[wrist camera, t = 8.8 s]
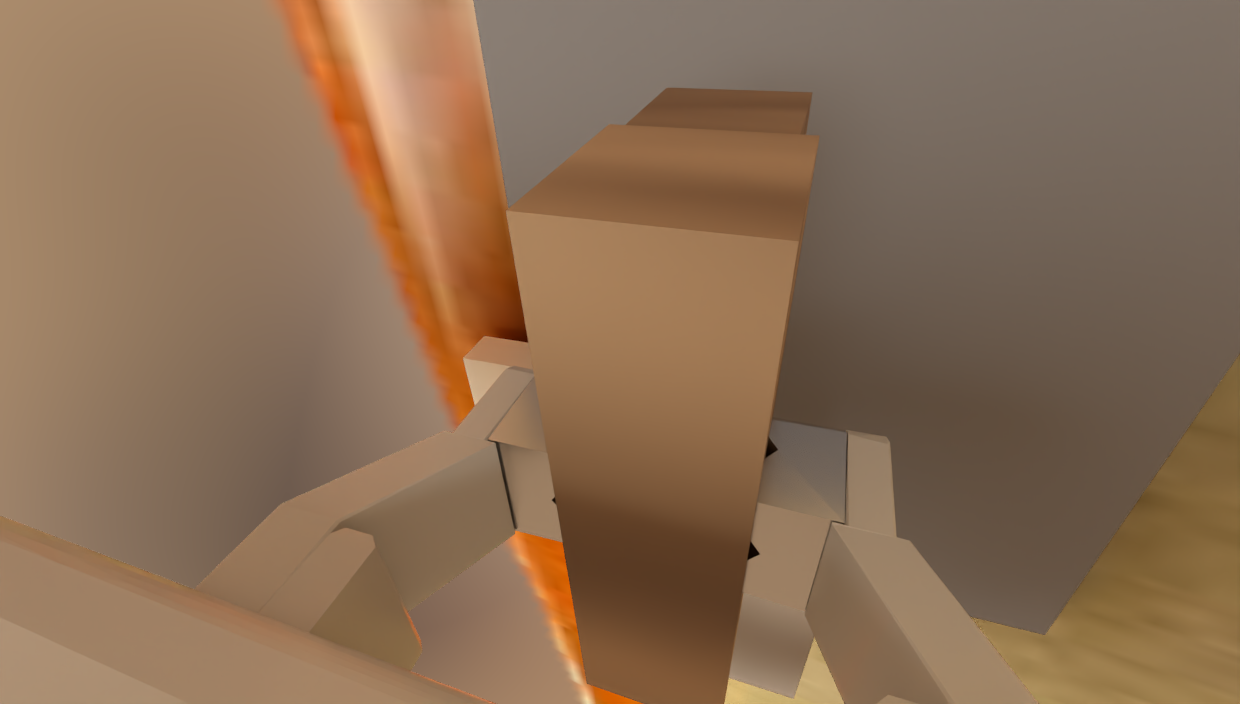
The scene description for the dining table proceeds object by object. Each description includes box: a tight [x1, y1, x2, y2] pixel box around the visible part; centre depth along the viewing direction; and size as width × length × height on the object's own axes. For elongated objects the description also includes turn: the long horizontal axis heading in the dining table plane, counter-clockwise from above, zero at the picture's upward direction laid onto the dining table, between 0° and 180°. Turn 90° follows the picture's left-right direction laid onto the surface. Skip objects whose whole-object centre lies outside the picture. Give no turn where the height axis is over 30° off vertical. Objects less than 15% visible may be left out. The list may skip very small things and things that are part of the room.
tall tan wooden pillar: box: [506, 88, 820, 704], centre depth 11 cm, size 16×6×4 cm, turn 2°
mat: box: [473, 0, 1240, 635], centre depth 15 cm, size 26×18×1 cm
